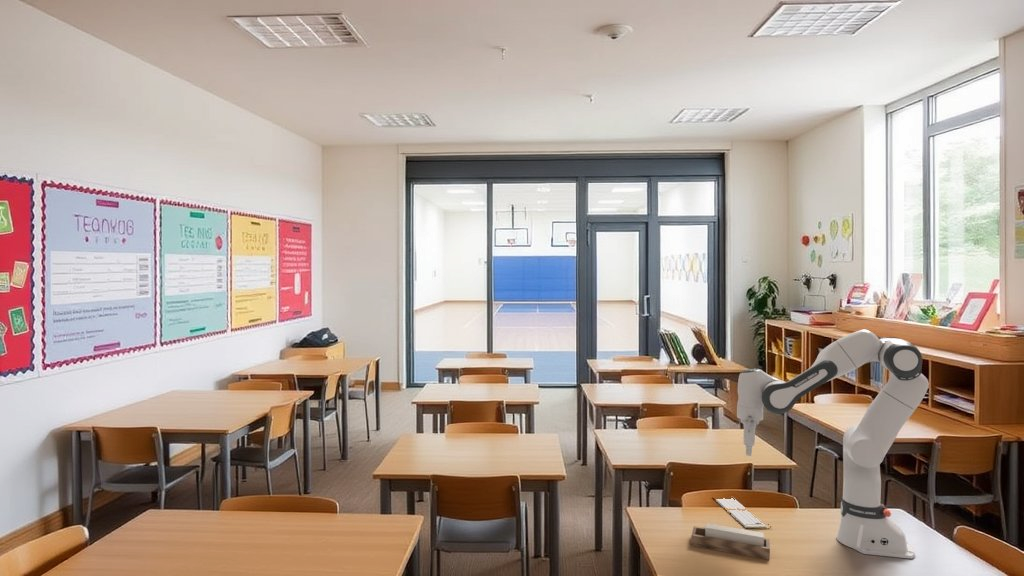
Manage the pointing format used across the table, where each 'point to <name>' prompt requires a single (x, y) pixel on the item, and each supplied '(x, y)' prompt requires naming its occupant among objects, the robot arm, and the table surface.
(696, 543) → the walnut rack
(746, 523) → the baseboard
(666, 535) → the table surface
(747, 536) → the clay strip
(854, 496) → the robot arm
